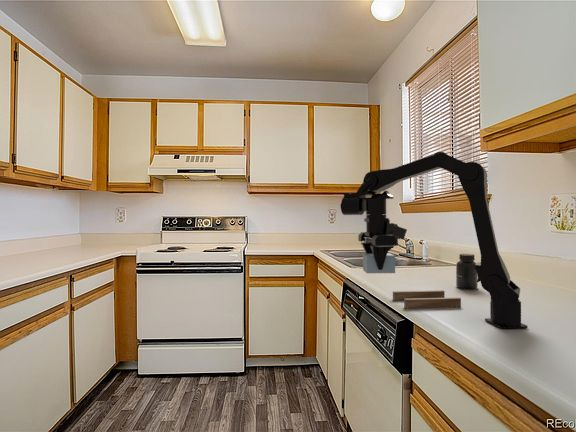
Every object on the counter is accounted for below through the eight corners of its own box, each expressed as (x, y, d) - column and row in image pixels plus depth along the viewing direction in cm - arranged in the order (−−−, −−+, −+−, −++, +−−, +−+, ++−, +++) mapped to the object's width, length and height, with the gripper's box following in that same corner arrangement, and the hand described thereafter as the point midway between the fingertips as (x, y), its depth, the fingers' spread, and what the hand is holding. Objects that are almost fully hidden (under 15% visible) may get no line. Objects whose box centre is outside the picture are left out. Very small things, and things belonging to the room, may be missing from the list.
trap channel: (460, 307, 98) (460, 298, 98) (405, 308, 98) (405, 299, 98) (442, 298, 109) (442, 290, 109) (392, 299, 108) (392, 291, 108)
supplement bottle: (453, 287, 124) (453, 254, 123) (460, 285, 128) (459, 252, 128) (474, 290, 119) (473, 256, 119) (480, 287, 123) (480, 254, 123)
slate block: (395, 273, 98) (395, 255, 98) (366, 273, 98) (366, 255, 98) (389, 269, 104) (389, 253, 104) (363, 269, 104) (362, 253, 104)
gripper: (416, 214, 92) (417, 272, 92) (391, 214, 111) (392, 263, 111) (375, 215, 92) (376, 273, 92) (357, 214, 110) (358, 263, 110)
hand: (376, 268), depth 101 cm, fingers closed on slate block, 6 cm apart
